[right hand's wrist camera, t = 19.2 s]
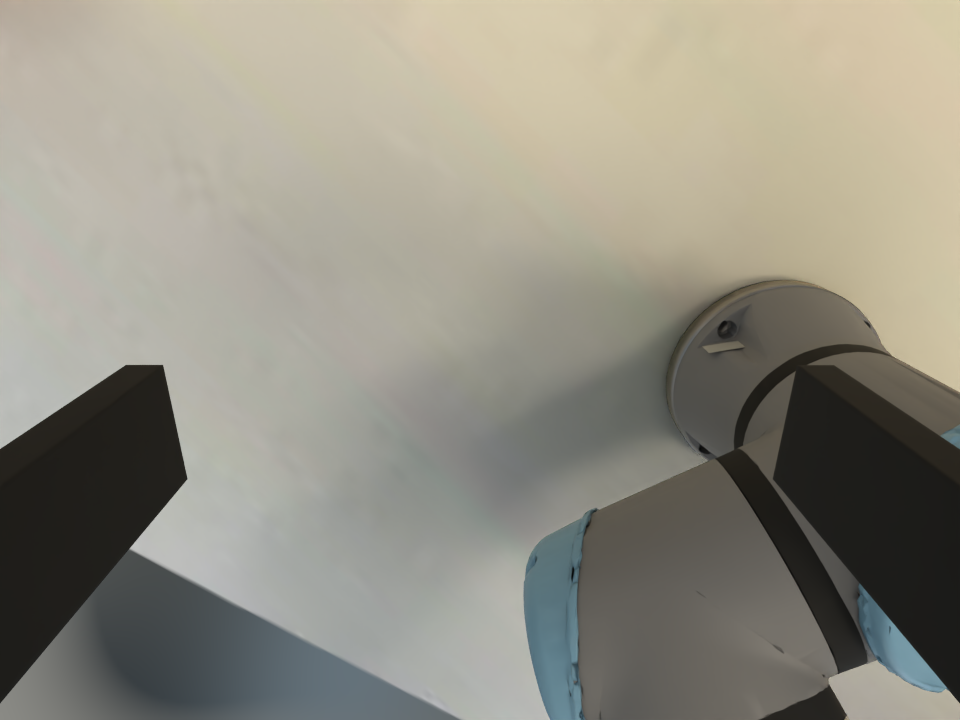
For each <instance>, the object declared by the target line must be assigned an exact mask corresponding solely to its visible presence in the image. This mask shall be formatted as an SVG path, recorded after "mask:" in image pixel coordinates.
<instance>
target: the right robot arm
mask: <svg viewBox="0 0 960 720" xmlns="http://www.w3.org/2000/svg"><path fill="white" fill-rule="evenodd" d="M666 395H667V402H668V406H669V410H670V413H671V416H672V418H673V420H674V422H675V424H676V426H677V427H678V429H679V430H680V432H681V433H682V435H683V436H684V438H685V439H686V441H687V442H688V443H689V445H690V446H691V447H692V448H693V449H694V450H695V451H696V452H697V453H699V454H700V455H701V456H702V457H704V458H705V459H707V460H708V462H706V463H703V464H701V465H699V466H697V467H694V468H692V469H690V470H688V471H685V472H683V473H681V474H679V475H676V476H674V477H672V478H670V479H667V480H665V481H663V482H661V483H659V484H656V485H654V486H652V487H650V488H647V489H645V490H643V491H641V492H638V493H636V494H634V495H632V496H629V497H627V498H625V499H623V500H620V501H618V502H616V503H614V504H611V505H609V506H607V507H605V508H603V509H600V510H599V509H597V508H595V509H591V510H589V511H588V512H586V513H585V514H584V516H583V517H582V518H581V519H579V520H577V521H575V522H573V523H571V524H569V525H567V526H565V527H564V528H562V529H560V530H558V531H556V532H554V533H552V534H550V535H548V536H546V537H545V538H543V539H542V540H541V541H540V542H539V543H538V544H537V545H536V547H535V548H534V549H533V551H532V553H531V555H530V557H529V560H528V563H527V567H526V574H525V581H524V613H525V623H526V631H527V638H528V644H529V649H530V654H531V659H532V663H533V667H534V672H535V675H536V679H537V683H538V686H539V690H540V693H541V696H542V700H543V703H544V706H545V708H546V711H547V713H548V716H549V718H550V720H849V718H848V716H847V714H846V713H845V711H844V710H843V708H842V706H841V704H840V703H839V701H838V699H837V697H836V696H835V694H834V692H833V690H832V689H831V687H830V685H829V683H828V679H829V677H832V676H834V675H836V674H839V673H842V672H844V671H847V670H850V669H853V668H855V667H858V666H861V665H864V664H868V663H870V662H873V661H875V660H878V662H879V663H881V664H882V665H884V666H885V667H886V668H887V669H888V671H890V672H892V673H894V674H896V675H897V676H899V677H901V678H902V679H903V680H904V681H906V682H908V683H910V684H912V685H913V686H916V687H919V688H921V689H923V690H927V691H931V692H937V693H939V692H942V691H943V690H945V689H947V690H949V691H950V692H951V693H952V694H953V696H954V697H955V698H956V699H957V700H958V702H959V703H960V393H959V392H958V391H956V390H954V389H952V388H950V387H948V386H947V385H945V384H943V383H941V382H939V381H937V380H935V379H934V378H932V377H930V376H928V375H926V374H924V373H922V372H921V371H919V370H917V369H915V368H913V367H911V366H910V365H908V364H906V363H904V362H902V361H900V360H898V359H896V358H894V357H893V356H891V355H890V353H889V352H888V351H887V350H886V349H885V348H884V346H883V345H882V344H881V341H880V339H879V337H878V335H877V333H876V331H875V329H874V328H873V326H872V325H871V323H870V322H869V321H868V319H867V318H866V317H865V316H864V315H863V313H862V312H861V311H860V310H859V309H858V308H857V307H855V306H854V305H853V304H852V303H851V302H849V301H848V300H846V299H845V298H843V297H841V296H839V295H837V294H835V293H833V292H831V291H828V290H826V289H824V288H822V287H819V286H816V285H814V284H810V283H806V282H800V281H790V280H779V281H769V282H763V283H758V284H754V285H751V286H748V287H745V288H742V289H740V290H737V291H735V292H733V293H731V294H729V295H727V296H725V297H723V298H722V299H720V300H719V301H717V302H716V303H714V304H713V305H711V306H710V307H709V308H708V309H706V310H705V311H704V312H703V313H702V314H701V315H700V316H699V317H697V319H696V320H695V321H694V322H693V323H692V324H691V325H690V326H689V328H688V329H687V330H686V332H685V333H684V335H683V336H682V338H681V339H680V341H679V343H678V345H677V347H676V348H675V350H674V353H673V355H672V358H671V361H670V364H669V368H668V373H667V381H666ZM186 480H187V475H186V470H185V466H184V461H183V456H182V452H181V447H180V442H179V438H178V433H177V428H176V424H175V419H174V414H173V409H172V405H171V400H170V395H169V391H168V386H167V381H166V377H165V372H164V367H163V365H125V366H124V367H122V368H121V369H119V370H118V371H116V372H115V373H113V374H112V375H110V376H109V377H107V378H106V379H104V380H103V381H101V382H100V383H98V384H97V385H95V386H94V387H92V388H91V389H89V390H88V391H86V392H85V393H83V394H82V395H80V396H79V397H77V398H76V399H74V400H73V401H72V402H70V403H69V404H67V405H66V406H64V407H63V408H61V409H60V410H58V411H57V412H55V413H54V414H52V415H51V416H49V417H48V418H46V419H45V420H43V421H42V422H40V423H39V424H37V425H36V426H34V427H33V428H31V429H30V430H28V431H27V432H25V433H24V434H22V435H21V436H19V437H18V438H16V439H15V440H13V441H12V442H10V443H9V444H7V445H6V446H4V447H3V448H1V449H0V703H1V702H2V700H3V699H4V698H5V697H6V696H7V694H8V693H9V692H10V691H11V690H12V688H13V687H14V686H15V685H16V684H17V683H18V681H19V680H20V679H21V678H22V677H23V675H24V674H25V673H26V672H27V671H28V669H29V668H30V667H31V666H32V665H33V663H34V662H35V661H36V660H37V659H38V657H39V656H40V655H41V654H42V652H43V651H44V650H45V649H46V648H47V646H48V645H49V644H50V643H51V642H52V641H53V639H54V638H55V637H56V636H57V635H58V633H59V632H60V631H61V630H62V629H63V627H64V626H65V625H66V624H67V623H68V621H69V620H70V619H71V618H72V617H73V615H74V614H75V613H76V612H77V611H78V609H79V608H80V607H81V606H82V605H83V603H84V602H85V601H86V600H87V599H88V597H89V596H90V595H91V594H92V593H93V591H94V590H95V589H96V588H97V587H98V586H99V584H100V583H101V582H102V581H103V580H104V578H105V577H106V576H107V575H108V574H109V572H110V571H111V570H112V569H113V568H114V566H115V565H116V564H117V563H118V561H119V560H120V559H121V558H122V557H123V555H124V554H125V553H126V552H127V551H128V550H129V548H130V547H131V546H132V545H133V544H134V542H135V541H136V540H137V539H138V538H139V536H140V535H141V534H142V533H143V532H144V530H145V529H146V528H147V527H148V526H149V524H150V523H151V522H152V521H153V520H154V518H155V517H156V516H157V515H158V514H159V512H160V511H161V510H162V509H163V508H164V506H165V505H166V504H167V503H168V502H169V500H170V499H171V498H172V497H173V496H174V494H175V493H176V492H177V491H178V490H179V488H180V487H181V486H182V485H183V484H184V483H185V481H186Z"/></svg>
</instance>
